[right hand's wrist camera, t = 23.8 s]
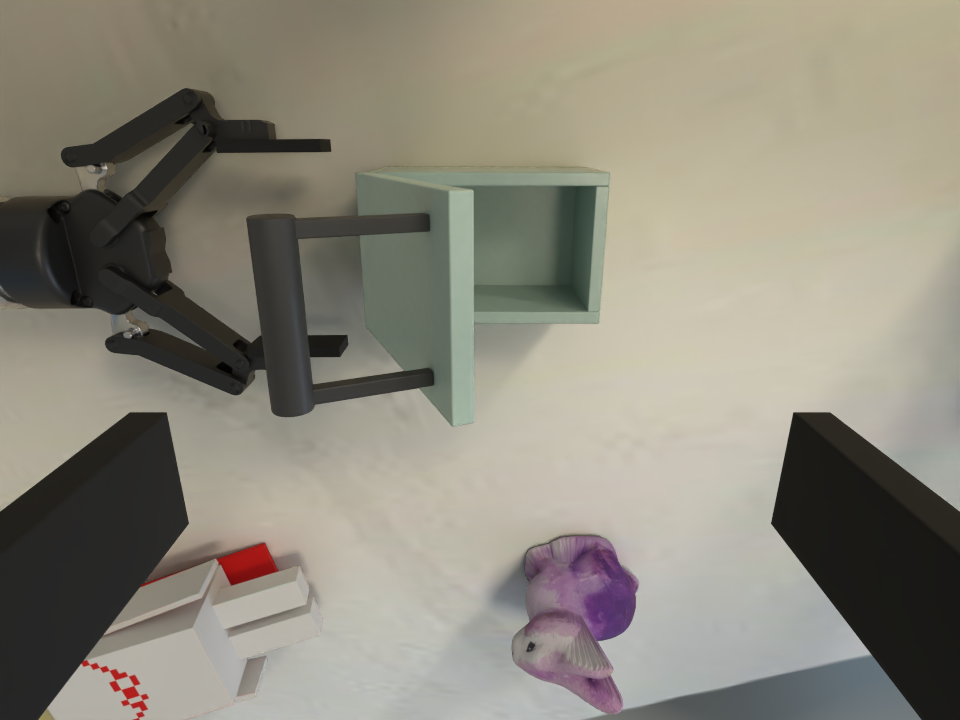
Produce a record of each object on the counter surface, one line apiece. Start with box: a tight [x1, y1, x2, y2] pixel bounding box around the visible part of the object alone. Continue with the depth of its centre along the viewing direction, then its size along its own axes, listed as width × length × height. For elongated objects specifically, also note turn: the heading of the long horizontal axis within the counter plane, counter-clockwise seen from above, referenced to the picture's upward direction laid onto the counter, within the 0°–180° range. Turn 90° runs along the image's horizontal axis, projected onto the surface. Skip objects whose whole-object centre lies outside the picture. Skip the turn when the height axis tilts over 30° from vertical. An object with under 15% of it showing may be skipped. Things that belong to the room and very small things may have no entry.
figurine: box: [512, 536, 639, 715], centre depth 50 cm, size 9×10×15 cm
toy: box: [38, 543, 323, 720], centre depth 54 cm, size 12×13×30 cm
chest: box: [368, 167, 610, 324], centre depth 42 cm, size 15×10×9 cm, turn 90°
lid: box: [246, 172, 474, 427], centre depth 29 cm, size 16×10×8 cm
